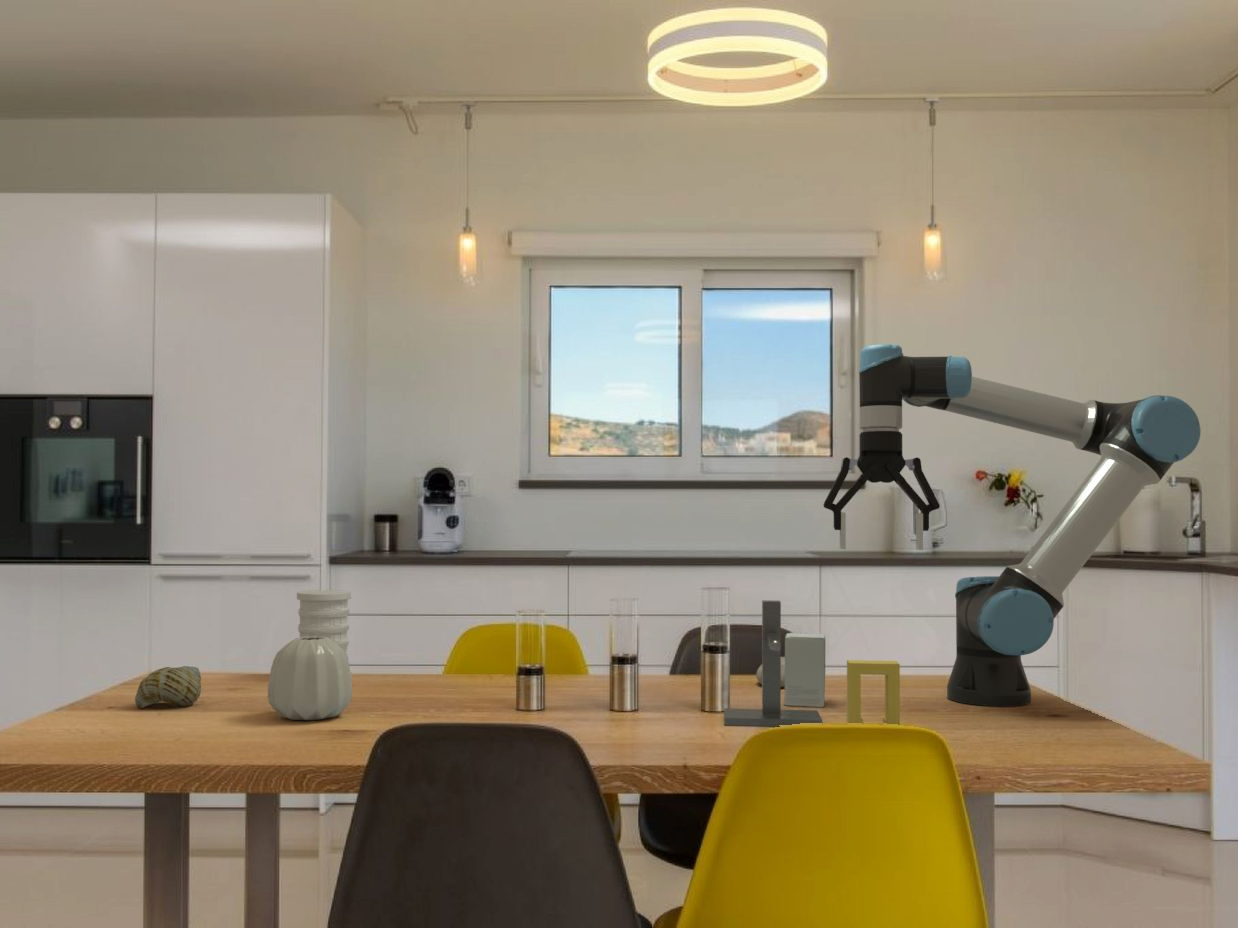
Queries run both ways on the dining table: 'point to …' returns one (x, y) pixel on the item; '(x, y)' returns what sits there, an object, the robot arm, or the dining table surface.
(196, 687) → the seashell
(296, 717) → the vase
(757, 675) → the stone
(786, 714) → the stand
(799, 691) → the supplement box
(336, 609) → the decorative container
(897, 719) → the c link
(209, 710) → the dining table surface
